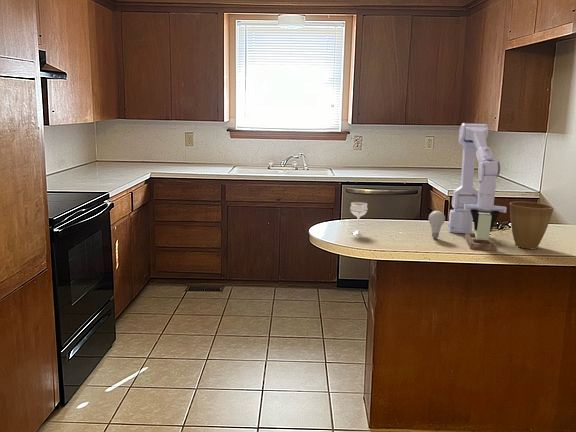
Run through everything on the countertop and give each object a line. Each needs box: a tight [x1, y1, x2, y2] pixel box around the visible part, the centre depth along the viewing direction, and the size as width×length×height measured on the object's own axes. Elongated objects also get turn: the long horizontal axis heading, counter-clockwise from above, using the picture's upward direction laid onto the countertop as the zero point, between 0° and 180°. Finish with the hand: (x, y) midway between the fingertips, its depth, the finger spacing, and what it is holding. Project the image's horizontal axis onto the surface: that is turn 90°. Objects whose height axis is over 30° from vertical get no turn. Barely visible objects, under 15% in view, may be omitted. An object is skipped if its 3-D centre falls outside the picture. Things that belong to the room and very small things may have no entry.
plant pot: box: [509, 201, 554, 250], centre depth 205 cm, size 15×15×16 cm
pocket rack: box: [464, 232, 497, 252], centre depth 208 cm, size 9×17×2 cm, turn 169°
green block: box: [474, 211, 492, 240], centre depth 203 cm, size 4×4×9 cm
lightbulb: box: [428, 210, 446, 239], centre depth 214 cm, size 6×6×11 cm
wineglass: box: [349, 201, 368, 235], centre depth 219 cm, size 7×7×12 cm
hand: (482, 230), depth 203 cm, fingers closed on green block, 4 cm apart
